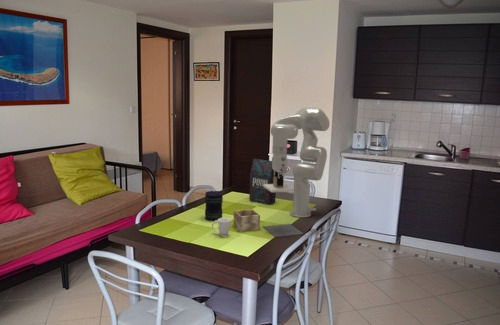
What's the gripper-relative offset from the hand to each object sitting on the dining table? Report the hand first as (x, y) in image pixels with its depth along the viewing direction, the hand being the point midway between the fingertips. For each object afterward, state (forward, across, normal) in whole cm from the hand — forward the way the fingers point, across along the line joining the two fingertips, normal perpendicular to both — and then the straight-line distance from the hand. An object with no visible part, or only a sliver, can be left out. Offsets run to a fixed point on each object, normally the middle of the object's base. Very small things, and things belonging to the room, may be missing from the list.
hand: (278, 184), depth 220 cm
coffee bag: (+26, +53, -11) cm, 60 cm away
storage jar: (+25, +26, +28) cm, 46 cm away
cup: (+25, 0, +30) cm, 39 cm away
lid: (+2, 0, 0) cm, 2 cm away
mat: (+25, -2, -3) cm, 25 cm away
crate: (+25, +8, +15) cm, 30 cm away
